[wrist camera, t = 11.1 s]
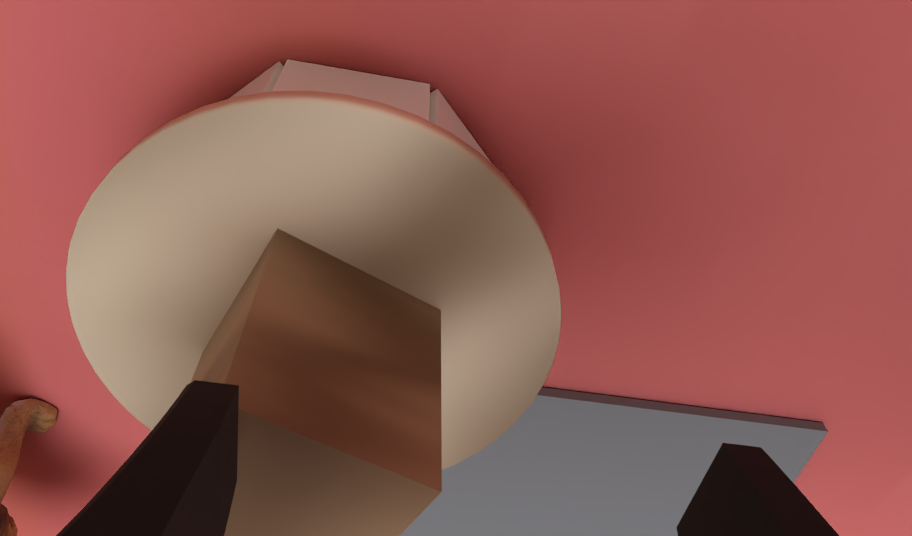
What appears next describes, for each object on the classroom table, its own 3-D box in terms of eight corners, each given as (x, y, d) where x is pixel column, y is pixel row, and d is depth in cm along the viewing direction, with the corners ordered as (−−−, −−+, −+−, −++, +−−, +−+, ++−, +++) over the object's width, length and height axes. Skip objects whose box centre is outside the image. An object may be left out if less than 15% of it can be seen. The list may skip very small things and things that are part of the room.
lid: (656, 255, 17) (740, 446, 12) (404, 519, 22) (394, 725, 17) (188, -25, 13) (52, 95, 9) (17, 370, 18) (-124, 578, 14)
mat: (822, 422, 26) (827, 431, 25) (679, 640, 33) (681, 649, 33) (419, 371, 24) (419, 380, 24) (367, 613, 32) (366, 623, 31)
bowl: (537, 102, 19) (558, 176, 16) (468, 366, 24) (473, 464, 21) (170, 38, 18) (109, 103, 14) (178, 329, 23) (134, 426, 19)
